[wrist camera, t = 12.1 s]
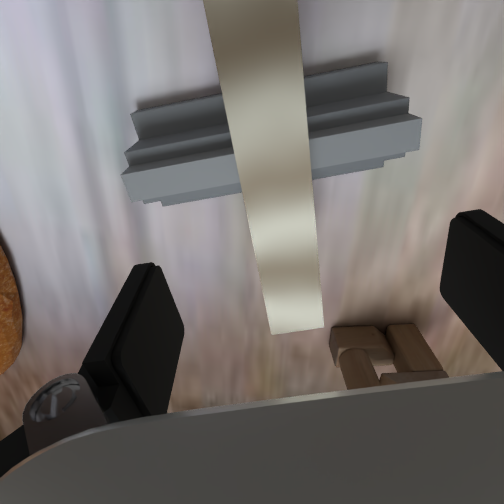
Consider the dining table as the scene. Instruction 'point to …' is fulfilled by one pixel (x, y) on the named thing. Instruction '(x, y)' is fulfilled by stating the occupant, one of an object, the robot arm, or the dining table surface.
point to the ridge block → (221, 148)
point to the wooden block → (383, 355)
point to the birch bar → (271, 150)
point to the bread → (9, 316)
